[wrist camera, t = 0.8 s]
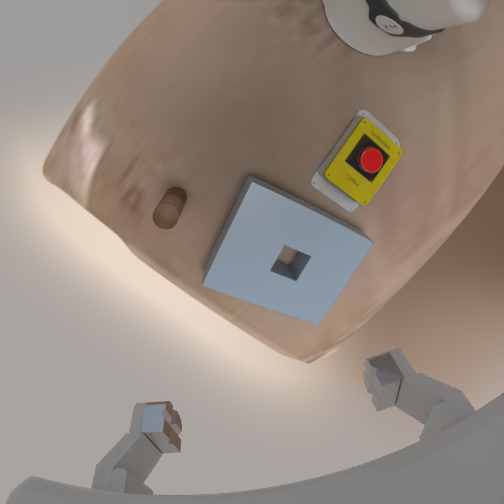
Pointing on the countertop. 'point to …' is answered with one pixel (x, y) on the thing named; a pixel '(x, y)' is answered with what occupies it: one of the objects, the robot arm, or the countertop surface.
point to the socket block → (271, 244)
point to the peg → (169, 208)
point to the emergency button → (358, 162)
